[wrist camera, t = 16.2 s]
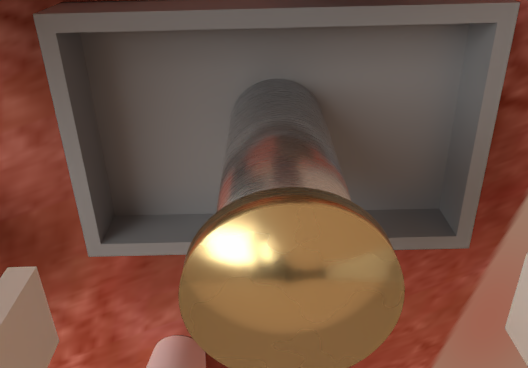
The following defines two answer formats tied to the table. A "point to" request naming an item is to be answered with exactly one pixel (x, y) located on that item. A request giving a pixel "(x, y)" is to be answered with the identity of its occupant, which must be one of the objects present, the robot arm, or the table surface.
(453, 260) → the table surface
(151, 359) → the smoothie
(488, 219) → the table surface
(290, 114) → the silver metal cylinder
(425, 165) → the tray
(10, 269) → the robot arm
